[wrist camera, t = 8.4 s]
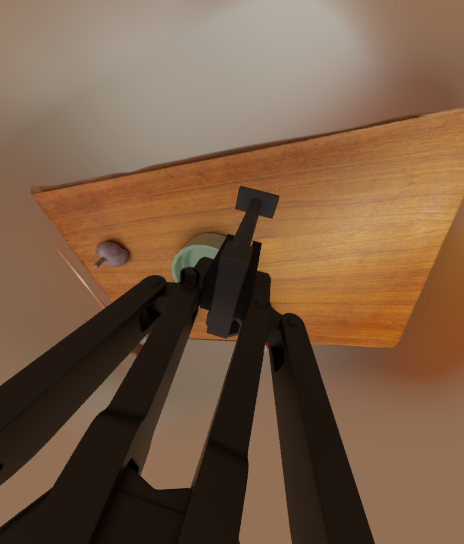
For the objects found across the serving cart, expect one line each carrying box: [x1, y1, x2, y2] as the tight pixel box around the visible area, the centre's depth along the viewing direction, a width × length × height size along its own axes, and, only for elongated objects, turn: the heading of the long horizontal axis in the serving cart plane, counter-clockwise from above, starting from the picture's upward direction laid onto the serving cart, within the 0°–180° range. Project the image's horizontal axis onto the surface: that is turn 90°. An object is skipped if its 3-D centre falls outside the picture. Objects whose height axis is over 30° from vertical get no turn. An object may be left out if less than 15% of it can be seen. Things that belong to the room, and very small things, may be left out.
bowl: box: [172, 233, 226, 282], centre depth 41 cm, size 16×16×6 cm
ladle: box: [206, 186, 279, 339], centre depth 21 cm, size 22×6×14 cm, turn 169°
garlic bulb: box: [94, 242, 129, 269], centre depth 45 cm, size 8×7×8 cm
